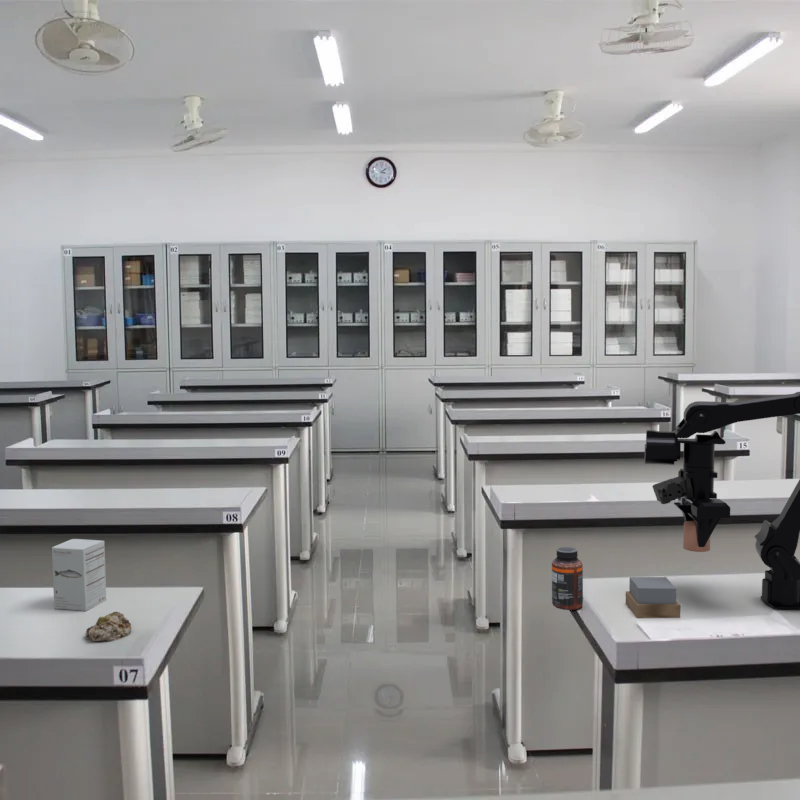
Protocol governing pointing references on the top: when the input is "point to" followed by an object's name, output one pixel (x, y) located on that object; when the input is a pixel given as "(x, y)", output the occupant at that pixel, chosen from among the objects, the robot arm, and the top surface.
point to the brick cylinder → (693, 538)
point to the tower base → (652, 609)
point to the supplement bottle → (567, 579)
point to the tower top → (652, 590)
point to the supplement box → (79, 574)
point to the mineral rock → (109, 628)
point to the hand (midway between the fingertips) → (696, 543)
